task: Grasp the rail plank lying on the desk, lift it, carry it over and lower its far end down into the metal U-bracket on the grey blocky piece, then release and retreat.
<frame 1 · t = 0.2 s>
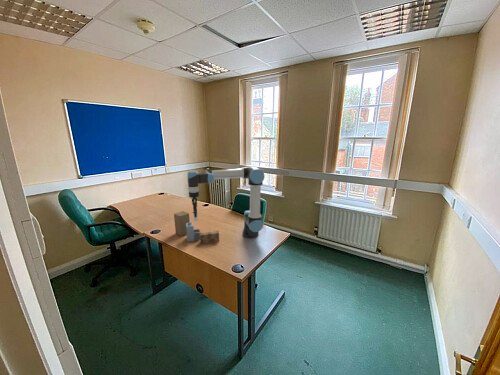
hand: (195, 217, 164), 27 cm above the table, fingers open, 13 cm apart
grey blocky piece: (194, 238, 187), on the table
wooden block: (183, 233, 198), on the table
rail: (209, 241, 182), on the table
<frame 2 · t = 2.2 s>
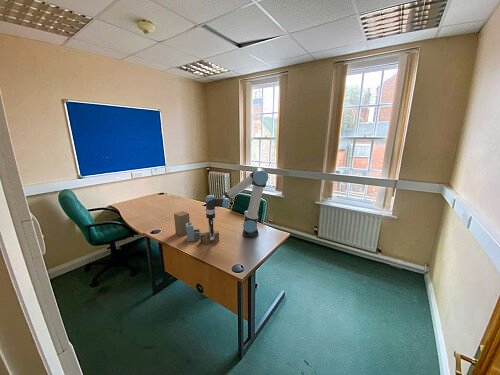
hand: (211, 236, 181), 5 cm above the table, fingers open, 13 cm apart
nothing on the table moved.
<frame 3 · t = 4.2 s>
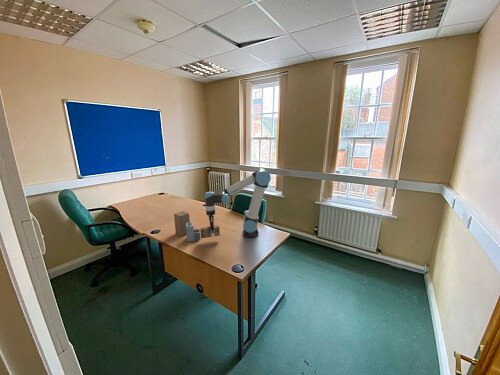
hand: (212, 235, 181), 6 cm above the table, fingers closed on rail, 4 cm apart
rail: (210, 236, 181), point 5 cm above the table, touching gripper
everything else where it was.
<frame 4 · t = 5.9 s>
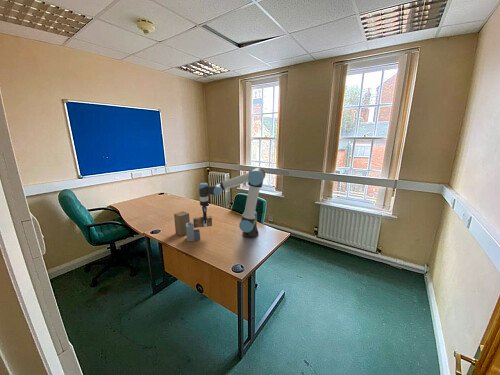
hand: (205, 225, 187), 12 cm above the table, fingers closed on rail, 4 cm apart
rail: (202, 226, 187), point 11 cm above the table, touching gripper
everything else where it was.
when the fingers open (1 cm above the table, at t = 7.6 s): rail stays where it is, on the table.
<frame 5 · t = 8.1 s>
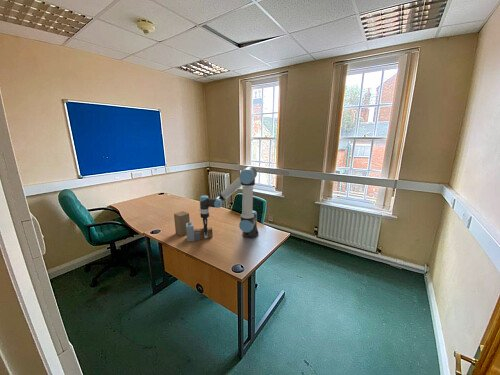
hand: (205, 236, 190), 0 cm above the table, fingers open, 4 cm apart
rail: (203, 237, 189), on the table, touching gripper
everything else where it was.
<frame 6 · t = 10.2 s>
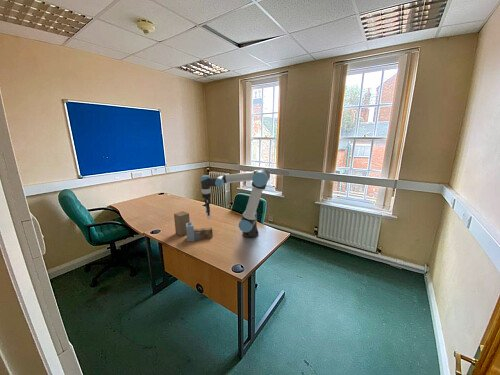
hand: (208, 216, 186), 20 cm above the table, fingers open, 13 cm apart
rail: (203, 237, 189), on the table
everything else where it was.
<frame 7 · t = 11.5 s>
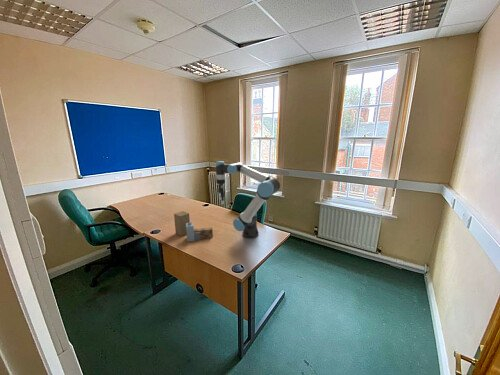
hand: (221, 201, 188), 32 cm above the table, fingers open, 13 cm apart
nothing on the table moved.
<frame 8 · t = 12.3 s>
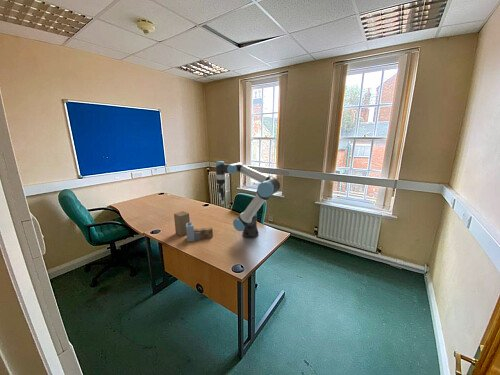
hand: (221, 201, 188), 32 cm above the table, fingers open, 13 cm apart
nothing on the table moved.
at the end: rail 0.4 cm from the target spot on the table beside the grey blocky piece, on the table; rail tilted 0°; the gripper is holding nothing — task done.
